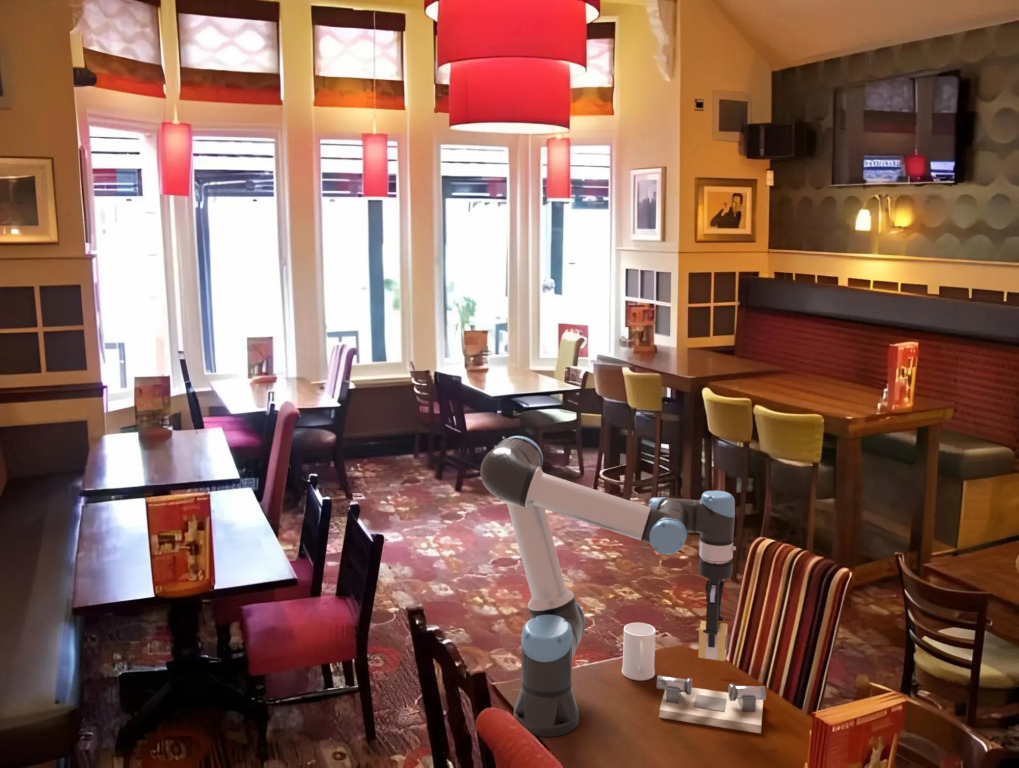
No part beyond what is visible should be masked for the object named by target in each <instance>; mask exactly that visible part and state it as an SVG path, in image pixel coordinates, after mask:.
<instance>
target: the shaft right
mask: <svg viewBox="0 0 1019 768" xmlns="http://www.w3.org/2000/svg"><path fill="white" fill-rule="evenodd" d="M727 693H728V694H729V700H730V701H735V700H736V699H738V703H739V705H740V708H741V710H742V712H755V709H756V700H763V701H765V700H766V698H767V691H766V687H765V685H764V686H763V685H762V686H760V685H759V686H754V685H735V683H729V684H728V692H727Z"/></svg>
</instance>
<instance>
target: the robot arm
mask: <svg viewBox="0 0 1019 768" xmlns="http://www.w3.org/2000/svg"><path fill="white" fill-rule="evenodd" d="M543 455H544V454H543V453H542V450H541V448H540V446H539V445H538V444H537V443H536V442H535V441H534V440H532V439H530V438H529V437H526V436H522V435H513V436H510V437H507V438H504V439H503V440H501V441H500V442H498V444H497V445H496V446H495V447H494V448H492V450H490V451H489V452H487V454H486V455H485V457H484V458H483V460H482V462H481V464H480V471H479V472H480V479H481V482H482V483H483V485H484V487H485V488H486V490H487V491H488V492H489V493H490V494H491V495H493V496H494V497H497V498H498V500H499V501H501V502H502V503H504V504H506V506H507V509H508V513H509V517H510V520H511V524H512V527H513V531H514V535H515V539H516V542H517V546H518V550H519V553H520V558H521V561H522V565H523V568H524V572H525V577H526V580H527V584H528V588H529V591H530V592H529V593H530V596H531V598H530V600H529V601H528V603H527V608H528V612H529V616H530V619H529V620H528V621H526V622H525V623H524V625H523V627H522V630H521V631H522V632H521V636H520V645H521V646H520V647H521V665H520V666H521V672H520V673H521V682H520V683H521V686H520V687H521V688H520V691H519V694H518V696H517V698H516V702H515V705H514V708H513V717H514V716H515V718H517V719H518V720H519V721H520V722H521V723H522V724H523V725H524V726H525V727H526V728H527V729H529V730H530V731H531V732H532V733H533V734H534V735H533V736H537V737H545V738H546V737H547V738H548V737H550V738H551V737H558V736H559V737H560V736H562V735H563V736H564V735H566V734H568V733H570V732H572V731H573V730H575V729H576V728H577V727H578V725H579V718H580V716H579V715H580V714H579V708H578V705H577V702H576V698H575V695H574V692H573V690H572V681H573V680H572V679H573V678H572V677H573V659H574V656H575V653H576V651H577V649H578V646H579V644H580V642H581V640H582V638H583V636H584V634H585V633H584V632H585V628H586V627H585V626H586V617H585V612H584V610H583V609H582V607H581V605H580V604H579V603H578V602H577V601H576V598H575V594H574V592H573V591H572V590H570V589H568V588H567V587H566V583H565V580H564V576H563V573H562V572H563V571H562V568H561V565H560V561H559V556H558V554H557V553H558V552H557V549H556V546H555V541H554V538H553V534H552V530H551V526H550V523H549V520H548V519H549V518H548V515H547V511H550V512H552V513H556V514H559V515H562V516H565V517H568V518H571V519H574V520H577V521H580V522H584V523H587V524H590V525H593V526H595V527H599V528H601V529H604V530H607V531H608V530H609V531H611V532H614V533H618V534H619V535H623V536H626V537H630V538H632V539H636V540H638V541H641V542H645V543H647V544H650V545H651V547H652V548H653V549H654V550H655V552H657V553H659V554H661V555H664V556H665V555H667V556H670V555H671V556H672V555H674V554H676V553H678V552H679V551H680V550H681V549H682V548H683V546H684V545H685V543H686V542H687V538H688V533H694V534H696V533H697V534H698V533H699V534H700V536H699V550H698V551H699V553H698V555H699V557H700V558H699V559H698V561H699V562H698V572H699V575H700V576H702V578H703V577H704V578H707V579H706V583H705V592H706V596H705V602H706V614H705V615H706V617H705V619H706V620H705V621H706V630H703V633H706V647H705V658H704V659H705V660H706V659H707V660H712V661H713V660H715V661H718V660H717V652H718V623H724V619H725V618H724V617H723V616H721V615H722V599H723V595H724V588H725V581H724V580H727V579H729V578H731V577H732V575H733V566H734V565H733V560H732V559H733V558H734V557H733V556H734V551H736V550H737V547H736V546H735V545H734V535H735V518H736V517H735V516H736V508H735V507H736V501H735V497H734V496H733V494H731V493H729V492H727V491H723V490H706V491H704V492H703V493H702V494H701V498H700V499H686V498H676V497H674V498H673V497H667V496H663V497H651V498H650V499H649V500H648V506H647V505H643V504H642V503H637V502H635V501H631V500H629V499H626V498H622V497H618V496H616V495H612V494H609V493H607V492H605V491H604V492H603V491H600V490H597V489H594V488H592V487H588V486H586V485H582V484H579V483H577V482H573V481H569V480H567V479H564V478H561V477H558V476H554V475H551V474H547V473H545V472H544V471H543V465H544V456H543ZM546 510H547V511H546Z"/></svg>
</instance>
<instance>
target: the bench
mask: <svg viewBox="0 0 1019 768" xmlns="http://www.w3.org/2000/svg"><path fill="white" fill-rule="evenodd" d="M763 708H764V700H756V709H755V712H742V710H741V708H740V705H739V703H738V699H736V700H735V701H730V700H729V694H728V692H726V691H720V690H719V691H718V690H712V689H711V690H710V689H705V688H698V687H692V690H691V695H686V693H685V692H681V697H680V701H679V704H676V703H669V702H666V690H664V692H663V695H662V699H661V703H660V706H659V712H658V713H659V715H658V718H660V719H666V720H673V721H679V722H680V721H681V722H686V723H691V724H697V725H705V726H710V727H711V726H712V727H717V728H723V729H729V730H737V731H741V732H742V731H743V732H749V733H755V734H756V733H757V734H762V725H763V724H762V722H763V721H762V720H763V710H764V709H763Z"/></svg>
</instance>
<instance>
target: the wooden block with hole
mask: <svg viewBox="0 0 1019 768" xmlns="http://www.w3.org/2000/svg"><path fill="white" fill-rule="evenodd" d="M703 630H706V620H701V622H700V624H699V629H698V640H697V641H698V642H697V643H698V644H697V645H698V652H697V653H698V656H697V657H698V658H700V659H705V647H706V633H703ZM727 647H728V623H724V622H720V623H718V652H717V660H716V661H721V662H724V661H726V655H727V649H728V648H727Z"/></svg>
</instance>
